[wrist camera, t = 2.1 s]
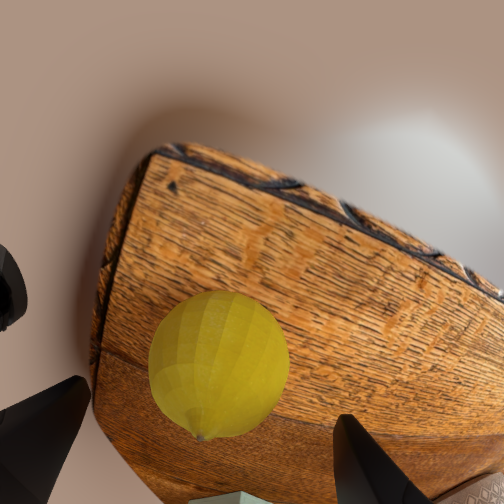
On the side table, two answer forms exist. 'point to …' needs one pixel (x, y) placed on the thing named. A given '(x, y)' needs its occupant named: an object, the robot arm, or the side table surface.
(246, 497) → the compartment tray
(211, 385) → the fruit
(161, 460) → the side table surface
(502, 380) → the side table surface
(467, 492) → the planter
